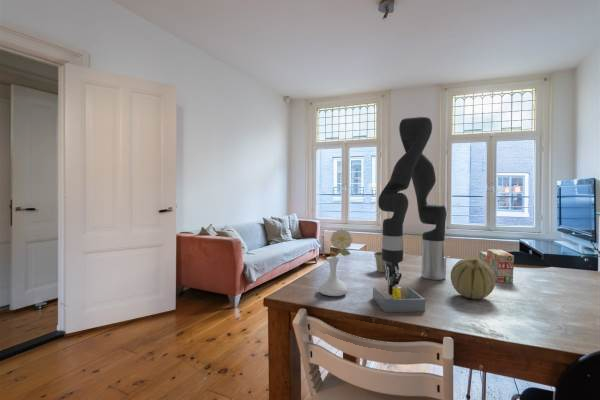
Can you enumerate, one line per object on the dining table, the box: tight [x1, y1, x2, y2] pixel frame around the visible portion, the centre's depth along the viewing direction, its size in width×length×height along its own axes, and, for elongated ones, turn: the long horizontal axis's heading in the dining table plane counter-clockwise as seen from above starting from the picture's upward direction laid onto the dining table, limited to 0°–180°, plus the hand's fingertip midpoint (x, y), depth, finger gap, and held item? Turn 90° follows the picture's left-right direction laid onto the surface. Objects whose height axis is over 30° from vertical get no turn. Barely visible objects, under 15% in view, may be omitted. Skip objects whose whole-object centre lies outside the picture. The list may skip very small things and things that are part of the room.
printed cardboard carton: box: [478, 248, 515, 284], centre depth 142 cm, size 21×6×12 cm, turn 168°
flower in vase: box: [317, 228, 353, 297], centre depth 117 cm, size 13×11×25 cm
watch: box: [391, 285, 402, 299], centre depth 108 cm, size 6×3×6 cm, turn 179°
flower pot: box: [373, 251, 386, 273], centre depth 150 cm, size 9×9×9 cm
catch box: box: [372, 286, 426, 313], centre depth 107 cm, size 14×13×4 cm
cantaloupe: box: [450, 257, 496, 300], centre depth 114 cm, size 15×15×15 cm
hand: (391, 294), depth 113 cm, fingers closed
